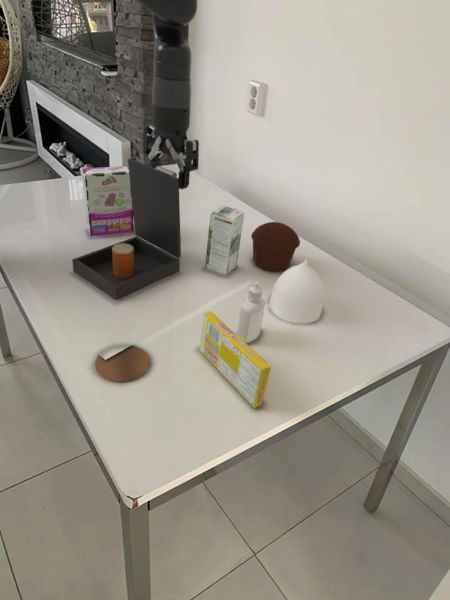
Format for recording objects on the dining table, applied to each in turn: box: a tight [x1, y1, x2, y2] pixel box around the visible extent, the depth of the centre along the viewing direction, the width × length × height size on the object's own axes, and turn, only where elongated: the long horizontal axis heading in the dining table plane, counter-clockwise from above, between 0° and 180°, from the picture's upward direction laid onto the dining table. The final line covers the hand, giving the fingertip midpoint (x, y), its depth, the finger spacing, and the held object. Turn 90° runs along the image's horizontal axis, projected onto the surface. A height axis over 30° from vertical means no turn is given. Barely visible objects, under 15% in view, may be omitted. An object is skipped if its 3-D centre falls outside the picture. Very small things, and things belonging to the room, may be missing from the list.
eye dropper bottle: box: [236, 281, 266, 345], centre depth 83 cm, size 4×6×12 cm
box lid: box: [127, 158, 182, 259], centre depth 99 cm, size 18×15×5 cm
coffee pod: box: [112, 243, 134, 278], centre depth 97 cm, size 5×5×6 cm
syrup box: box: [204, 205, 245, 276], centre depth 102 cm, size 6×6×14 cm
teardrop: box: [269, 258, 326, 325], centre depth 92 cm, size 11×11×12 cm
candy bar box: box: [81, 165, 135, 237], centre depth 111 cm, size 11×5×16 cm, turn 114°
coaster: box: [94, 345, 150, 383], centre depth 76 cm, size 9×9×1 cm
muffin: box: [251, 221, 301, 273], centre depth 108 cm, size 12×11×10 cm
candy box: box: [199, 311, 272, 409], centre depth 74 cm, size 16×2×8 cm, turn 35°
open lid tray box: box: [71, 235, 181, 301], centre depth 99 cm, size 18×15×4 cm
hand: (169, 182), depth 98 cm, fingers open, 8 cm apart
